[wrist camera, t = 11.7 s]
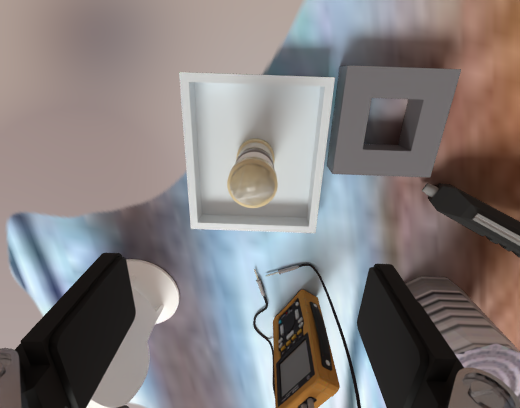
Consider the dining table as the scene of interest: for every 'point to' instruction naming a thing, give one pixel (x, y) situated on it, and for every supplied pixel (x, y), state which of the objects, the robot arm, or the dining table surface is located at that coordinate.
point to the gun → (475, 215)
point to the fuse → (253, 174)
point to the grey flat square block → (414, 125)
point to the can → (468, 329)
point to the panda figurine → (137, 334)
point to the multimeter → (303, 352)
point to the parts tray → (247, 127)
